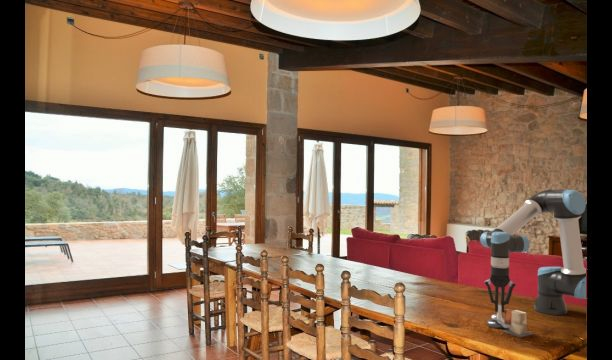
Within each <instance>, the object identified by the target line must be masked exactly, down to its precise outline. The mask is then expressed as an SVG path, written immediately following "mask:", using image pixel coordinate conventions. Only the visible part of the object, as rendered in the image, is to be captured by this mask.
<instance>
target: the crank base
mask: <svg viewBox="0 0 612 360" xmlns="http://www.w3.org/2000/svg"><path fill="white" fill-rule="evenodd" d="M486 325H487V327H489V328H492V329H498V330H506V328H504V327H503V326H502V325H500V324H499V323H498V322H493V321H492V320H491V318H488V319H486Z"/></svg>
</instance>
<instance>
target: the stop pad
mask: <svg viewBox="0 0 612 360" xmlns="http://www.w3.org/2000/svg"><path fill="white" fill-rule="evenodd" d="M502 332H504V333H506V334H509V335H512V336H515V337H516V338H517V337H518V338H523V337H526V336H531V335H534V333H533V332H530V331H528V330H526V333H524V334H519V335H518V334H516V333H513V332H510V331H509V328H506V329H502Z"/></svg>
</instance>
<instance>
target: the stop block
mask: <svg viewBox="0 0 612 360" xmlns="http://www.w3.org/2000/svg"><path fill="white" fill-rule="evenodd" d="M508 329H509V331H510V332H513V333H516V334H518V335H519V334H524V333H526V331H527V312H525V311H521V310H518V309H515V310H512V324H511V328H508Z"/></svg>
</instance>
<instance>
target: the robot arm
mask: <svg viewBox="0 0 612 360" xmlns="http://www.w3.org/2000/svg"><path fill="white" fill-rule="evenodd" d="M586 207H587V203H586V199H585V196H584V195H583V194H582V193H581V192H580V191H579V190H575V189H549V188H548V189H544V190H541V191H539V192H537V193H535V194H533V195H532V196H530V197H529V198H527V199H526V200H525V201H524V202H523V205H522V206H521V207H519V209H517V210H516V211H515V212H514V213H512V214H511V215H510V216H509V217H508V218H506V219H505V220H504V221H503V222H501V223H500V224H499V225H498V226H497V227H495V228H494V229H493V230H491V232H490V231H484V232H483V233H481V235H480V240H479V241H480V244H481V245H482V247H485V248H489V249H490V265H491V266H490V276H489V279H486V280H484V284H485V285H486V287H487V292H488V296H489V300H490V302H491V304H494V310H495V312H497V313H496V314H497V319H498V320H501V315H502V313H504V309H505V306H506V305H509V303H510V301H511V300H510V299H511V296H512V293H513V289H514V288H515V287H516V284H515V282H513V281H512V280H511V278H510V268H509V267H510V253H523V252H527V251H528V250H529V248H530V240H529V238H528V237H527V236H526V235H520V234H519V235H515V234H516V233H517V232H518V231H519V230H521V228H523V227H525V225H527V224H528V223H529V222H530V221H531V220H533V219H534V218H535V217H539V216H540V215H542V214H544V213H553V218H554V219H555V220H557V222H558V231H559V240H560V247H561V254H562V255H561V258H562V263H563V267H562V266H542V267H539V268H538V270H537V296H536V299H535V302H534V308H533V310H535V311H536V312H538V313H541V314H546V315H551V316H552V315H556V316H563V315H567V313H568V308H567V305H566V302H565V299H564V295H565V296H568V297H572V298H575V299H583V300H586V299H587V298H586V269H587V268H586V267H585V265H584V258H583V251H582V242H581V240H582V239H581V233H580V223H579V219H580V218H581V217H582V214H583V213H585V212H586ZM491 284H492V285H493V286H494V296H493V293H492V288H491ZM507 286H508V290H507V293H506V296H505V290H506V287H507ZM499 288H500V290H499ZM499 291H500V303H499Z"/></svg>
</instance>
